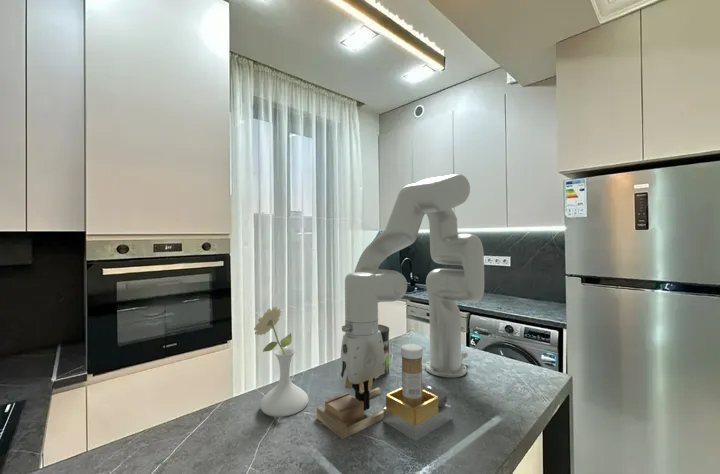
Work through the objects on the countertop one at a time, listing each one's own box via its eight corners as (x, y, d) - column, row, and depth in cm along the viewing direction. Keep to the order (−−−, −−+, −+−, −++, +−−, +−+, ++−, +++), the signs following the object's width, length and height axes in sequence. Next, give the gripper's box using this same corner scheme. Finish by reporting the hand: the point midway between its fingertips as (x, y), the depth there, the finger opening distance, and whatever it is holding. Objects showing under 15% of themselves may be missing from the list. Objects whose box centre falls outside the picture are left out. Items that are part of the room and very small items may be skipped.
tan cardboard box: (347, 410, 73) (347, 391, 73) (364, 421, 68) (364, 402, 68) (324, 420, 69) (324, 400, 69) (340, 432, 64) (340, 411, 64)
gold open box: (419, 407, 76) (419, 377, 76) (451, 424, 69) (451, 391, 69) (383, 426, 68) (383, 393, 68) (415, 447, 61) (415, 410, 61)
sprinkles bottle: (423, 405, 69) (422, 344, 69) (422, 416, 65) (421, 351, 65) (402, 402, 70) (402, 342, 71) (400, 413, 66) (399, 349, 66)
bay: (378, 397, 81) (378, 383, 81) (406, 412, 74) (405, 397, 74) (316, 423, 69) (316, 407, 69) (342, 445, 62) (342, 427, 62)
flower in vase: (292, 392, 84) (292, 298, 84) (318, 409, 75) (317, 304, 76) (244, 411, 75) (245, 306, 75) (268, 432, 66) (268, 313, 67)
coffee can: (391, 369, 99) (390, 324, 99) (387, 383, 89) (387, 333, 89) (359, 366, 101) (359, 323, 101) (352, 380, 91) (351, 331, 91)
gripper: (345, 337, 64) (346, 427, 64) (396, 324, 74) (397, 402, 73) (325, 329, 70) (325, 412, 70) (374, 318, 79) (375, 391, 79)
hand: (362, 407), depth 72 cm, fingers closed
